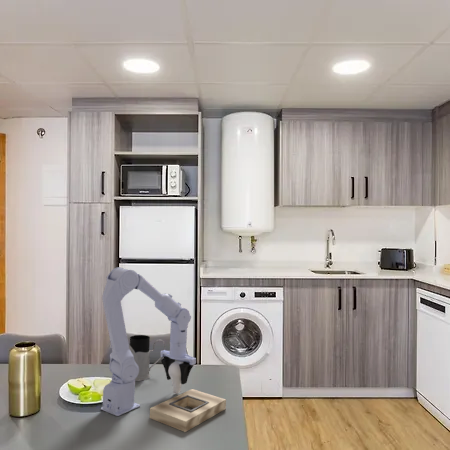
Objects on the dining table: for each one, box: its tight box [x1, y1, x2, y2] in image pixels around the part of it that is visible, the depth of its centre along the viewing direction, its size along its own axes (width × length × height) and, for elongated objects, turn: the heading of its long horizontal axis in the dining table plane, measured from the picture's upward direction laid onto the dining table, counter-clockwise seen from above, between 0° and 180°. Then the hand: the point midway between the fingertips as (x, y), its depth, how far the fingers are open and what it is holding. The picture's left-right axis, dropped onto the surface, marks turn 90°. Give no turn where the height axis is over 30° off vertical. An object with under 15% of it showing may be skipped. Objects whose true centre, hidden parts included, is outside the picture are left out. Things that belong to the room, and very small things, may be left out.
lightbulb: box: [168, 360, 183, 395], centre depth 148 cm, size 6×6×11 cm
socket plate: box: [149, 388, 227, 433], centre depth 133 cm, size 20×14×3 cm
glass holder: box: [128, 334, 166, 382], centre depth 165 cm, size 9×14×15 cm, turn 108°
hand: (176, 381), depth 148 cm, fingers closed on lightbulb, 6 cm apart
